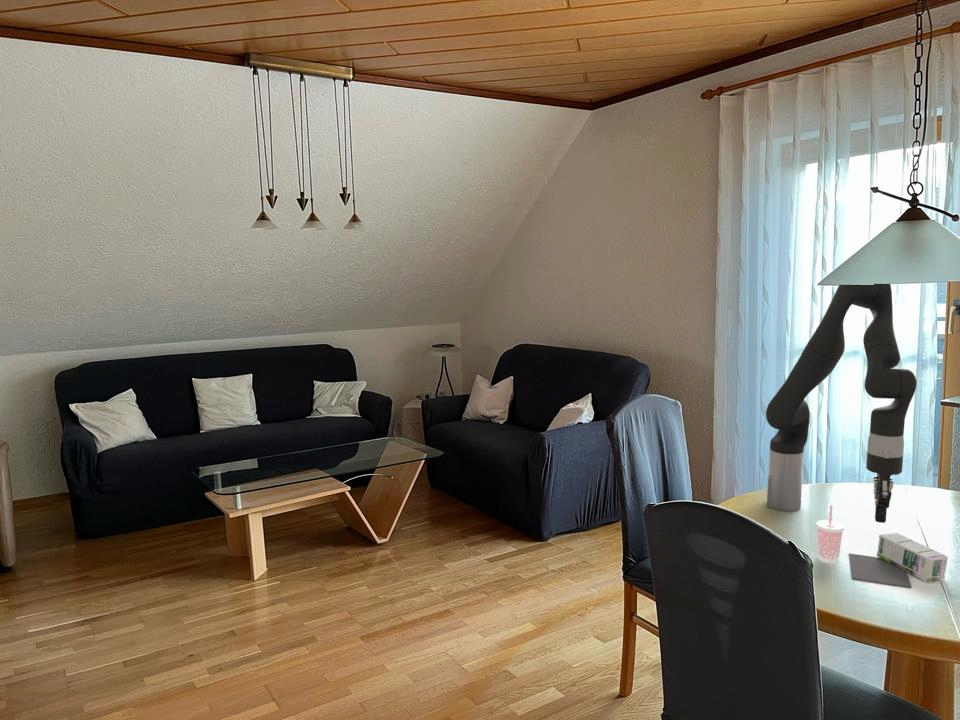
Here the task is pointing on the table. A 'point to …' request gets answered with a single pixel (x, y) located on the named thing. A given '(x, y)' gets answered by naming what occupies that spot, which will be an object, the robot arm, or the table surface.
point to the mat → (877, 571)
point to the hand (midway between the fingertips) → (880, 521)
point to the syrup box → (912, 557)
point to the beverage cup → (829, 539)
